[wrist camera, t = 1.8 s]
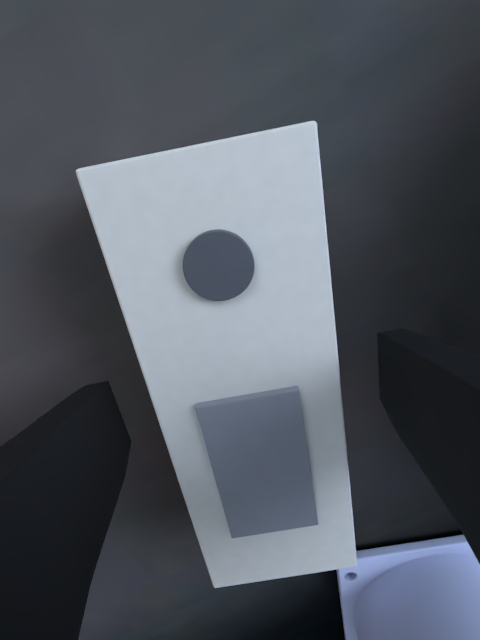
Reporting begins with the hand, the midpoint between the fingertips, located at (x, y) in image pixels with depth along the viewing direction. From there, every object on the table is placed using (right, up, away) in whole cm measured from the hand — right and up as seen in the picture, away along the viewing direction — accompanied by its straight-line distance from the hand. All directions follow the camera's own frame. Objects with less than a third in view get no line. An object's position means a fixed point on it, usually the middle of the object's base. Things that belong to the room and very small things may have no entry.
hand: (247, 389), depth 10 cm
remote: (0, +1, +2) cm, 2 cm away
